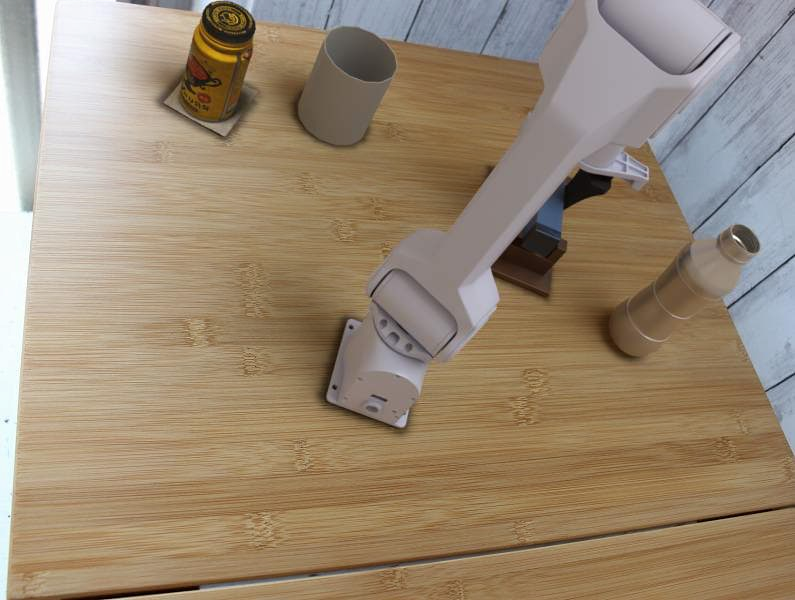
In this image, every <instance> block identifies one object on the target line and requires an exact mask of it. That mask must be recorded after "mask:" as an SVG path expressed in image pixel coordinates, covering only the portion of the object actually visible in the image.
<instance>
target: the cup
mask: <svg viewBox="0 0 795 600" xmlns="http://www.w3.org/2000/svg"><path fill="white" fill-rule="evenodd" d="M398 65H399V64H398V58H397V54H396V53H395V51H394V50H393V49H392V47H391V46H390V44H389V43H388V42H386V41H385V40H384V39H383V38H382V37H380V36H378V34H376V33H375V32H372V31H370V30H367V29H366V28H362V27H360V26H353V25H340V26H337V27H335V28H332V29H329V31H328V33H327V34H326V35H325V37H324V39H323V41H322V43H321V46H320V49H319V51H318V54H317V56H316V59H315V61H314V64H313V66H312V69H311V70H310V72H309V73H310V74H309V76H308V78H307V80H306V84H305V85H304V88H303V91H302V93H301V95H300V98H299V101H298V103H297V115H298V119H299V120H300V122H301V124H302V125H303V127H304V128H305V130H306V131H307V132H308V133H310V134H311V135H312V136H314V137H315V138H317V139H318V140H319V141H322V142H325V143H328V144H330V145H333V146H352V145H353V144H355V143H357V142H359V141H362V139H363V137H364V135H365V133H366V131H367V129H368V128H369V126H370V123H371V121H372V120H373V118H374V116H375V114H376V112H377V111H378V108H379V107H380V105H381V102H382V100H383V98H384V96H385V95H386V92H387V90H388V89H389V87H390V85H391V82H392V81H393V79H394V77H395V75H396V73H397V72H398V69H399V67H398Z"/></svg>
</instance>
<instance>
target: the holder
mask: <svg viewBox="0 0 795 600" xmlns="http://www.w3.org/2000/svg"><path fill="white" fill-rule="evenodd" d="M495 167H496V165H494V166H493V168H492V170H491V172H492V171H493V169H494V168H495ZM572 179H573V177H570V176H569V175H568V176H567V177H566V183H565V186H566V185H567V184H568V183H569V182H570V181H571V180H572ZM523 230H524V228H523V229H522V230H521V231H520V233H519V234H518V235H517V236H516V237H515V239H514V240H513V241H512V242H511V243H510V244H509V246H508V247H507V248H506V249H505V250H504V251H503V253H502V254H501V255H500V256H499V257H498V259H497V260H496V261H495V262H494V263H493V264H492V266H491V272H492V275H493V277H494V276H495V277H497V278H499V279H502V280H504V281H506V282H509V283H511V284H514V285H516V286H518V287H520V288H523V289H525V290H528V291H531V292H533V293H534V294H538V295H539V296H542V297H545V298H547V297H548V296H549V295H550V294H551V285H552V274H553V266H555V264H556V263H557V262H558V261H559V260H560V259H561V258H562V257H563V256H564V255H565V254H566V253H567V250H568V240H566V239H564V238H562V237H561V241H560V242H559V243H558V244H557V245H556V246H555V247H554V248H553V249H552V250H551V252H550V253H549V254H548V255H547V256H546V257H545V256H543V255H540V254H538V253H536V252H533V251H531V250H529V249H526V248H524V247H522V246H521V243H522V238H523Z"/></svg>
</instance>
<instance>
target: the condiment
mask: <svg viewBox="0 0 795 600" xmlns="http://www.w3.org/2000/svg"><path fill="white" fill-rule="evenodd" d="M201 14H202V15H201V18H200V20H199V23H198V24H197V25H196V26H195V29H194V31H193V34H192V35H193V36H192V39H191V43H190V47H189V51H188V56H187V61H186V65H185V67H184V72H183V77H182V80H181V81H180V83H179V84H178V85H177V86H176V87H175V89H174V90H173V91H172V92H171V93H170V94H169V95H168V97H167V98H166V99H165V100H164V101H163V102H162V103H163V104H164V105H167V106H168V107H170V108H172V109H173V110H175V111H177V112H178V113H180V114H181V115H183V116H185V117H187V118H188V119H190V120H192V121H194V122H196V123H198V124H200V125H202V126H203V127H205V128H207V129H209V130H212V131H214V132H215V133H217V134H219V135H220V136H222V137H224V138H226V136H227V135H228V133H229V132H230V131H231V129H232V128H233V127H234V126H235V124H236V122H238V120H239V119H240V118H241V116H242V115H243V114H244V112H245V111H246V109H247V108H248V107H249V105H250V104H251V103H252V101H254V99H255V97H256V96H257V95H258V93H259V91H258V90H256V89H254V88H251V87H249V86H248V85H245V84H244V82H245V78H246V75H247V72H248V69H249V65H250V62H251V59H252V56H253V54H254V35H255V34H256V30H257V27H256V24H257V23H256V20H255V19H254V17H253V15H252V14H251V13H250V11H249V10H247V9H246V8H245V7H243V6H242V5H240V4H238V3H236V2H233V1H229V0H215V1H211V2H209V3H208V4H207V5H205V7H204V9H203V10H202V13H201Z"/></svg>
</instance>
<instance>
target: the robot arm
mask: <svg viewBox="0 0 795 600" xmlns="http://www.w3.org/2000/svg"><path fill="white" fill-rule="evenodd" d="M741 40H742V36H741V35H740V34H739V33H737V32H736V31H733V30H732V28H730V27H729V26H728V25H727V24H725V22H724V21H722V20H721V18H720V17H718V16H717V15H716V14H715V13H713V11H711V10H710V8H708V7H707V6H705V5H704V3H702V2H701V1H699V0H573V1H572V2H571V3H570V5H569V6H568V8H567V10H566V11H565V13H564V14H563V16H562V17H561V18H560V20H559V22H558V23H557V24H556V25H555V27H554V29H553V30H552V32H550V34H549V36H548V37H547V39H546V41H545V47H544V48H543V50H542V51H541V53H540V54H539V56H538V57H537V58H536V60H537V63H538V67H539V71H540V75H541V78H542V82H543V85H544V88H543V91H542V92H541V94H540V96H539V98H538V100H537V102H536V104H535V106H534V108H533V111H532V112H530V111H528V113H527V114H526V116H525V117H524V119H523V120H522V121H521V122H520V124H519V125H520V126H519V131H518V134H517V136H516V138H515V139H514V141H513V142H512V144H511V145H510V146H509V148H508V149H507V150H506V151H505V153H504V154H503V155H502V157H501V158H500V160H499V161H498V163H497V164H496V165H495V166H496V167H495V166H494V167H495V168H494V167H493V168H494V169H493V168H492V170H493V171H492V170H491V172H490V174H489V175H487V177H486V179H485V180H484V182H482V184H481V186H480V187H479V188H478V190H477V191H476V192H475V194H474V195H473V197H471V199H470V201H469V202H468V203H467V205H466V206H465V208H464V209H463V210H462V211H461V212H460V214H459V216H457V218H456V220H455V221H454V223H453V224H451V227H450V228H449V229H448V230H447V231H442V230H439V229H433V228H426V227H422V228H420V229H418V230H416V231H413V232H410V234H408V235H407V236H406V237H404V239H402V240H401V241H400V242H399V243H397V245H396V246H394V247H393V249H392V250H391V251H390V253H389V254H388V255H387V256H386V257H385V258H384V259H383V260H382V261H381V262H380V263H379V265H378V266H377V267H376V268H375V269H374V270H373V272H372V273H371V274H370V276H369V277H368V279H367V280H366V282H365V292H364V294H365V296H367V297H368V298H369V299H371V300H370V301H369V303H368V304H367V306H366V308H367V309H368V310H369V312H368V313H367V314H366V316H365V317H364V318H363V320H362V321H359V320H357V319H354V318H349V319H347V321H346V323H345V327H344V330H343V334H342V338H341V341H340V345H339V348H338V352H337V356H336V360H335V363H334V367H333V370H332V373H331V378H330V381H329V385H328V389H327V392H326V396H325V399H326V401H327V402H328V403H330V404H333V405H336V406H339V407H342V408H343V409H347V410H350V411H352V412H355V413H358V414H361V415H363V416H366V417H368V418H371V419H374V420H376V421H379V422H382V423H384V424H387V425H390V426H393V427H396V428H397V429H403V428H405V426H406V425H407V421H408V417H409V416H408V415H409V412H410V408H411V407H412V406H413V405H414V404H415V403H416V402H417V401H418V400H419V399H420V395H421V393H422V388H423V383H424V380H425V376H426V373H427V370H428V368H429V366H430V365H431V363H432V362H433V360H434V361H435V362H436V363H437V364H439V365H440V364H442V363H443V364H448V363H450V362H451V361H452V360H453V358H454V357H455V356H456V355H457V354H458V353H459V352H460V351H461V350H462V349H463V348H464V347H465V346H466V345H467V344H468V343H469V341H470V340H472V339H473V337H474V336H475V335H476V334H477V333H478V332H479V331H480V330H481V329H482V328H483V327H484V326H485V325H486V323H487V322H488V321H489V320H490V317H491V316H492V315H493V313H495V311H496V310H497V309H498V305H497V304H498V303H499V302H500V300H501V297H500V294H499V291H498V287H497V284H496V281H495V278H494V275H492V272H491V266H492V264H493V263H494V262H495V261H496V260H497V259H498V257H499V256H500V255H501V254H502V253H503V251H504V250H505V249H506V248H507V247H508V246H509V244H510V243H511V242H512V241H513V240H514V239H515V237H516V236H517V235H518V234H519V233H520V231H521V230H522V229H523V228H524V227H525V226H526V224H527V223H528V222H529V221H530V220H531V218H532V217H533V216H534V215H535V214H536V213H537V211H538V210H539V209H540V208H541V207H542V206H543V204H544V203H545V202H546V201H547V200H548V198H549V197H550V196H551V195H552V194H553V193H554V191H555V190H556V189H557V188H558V187H559V186H560V184H561V183H562V182H563V181H564V180H565V178H566V177H567V176H568V177H569V175H570V174H571V173H572V171H573V170H574V169H575V168H576V167H577V168H578V170H577V172H576V173H575V175H574V176H573V177H572V180H571V181H570V182H569V183H568V184H567V185H566V186H565V195H564V206H563V212H564V211H565V210H567V209H568V208H570V207H572V206H574V205H575V204H577V203H580V202H582V201H585V200H587V199H590V198H593V197H597V196H604V195H606V194H607V193H608V192H609V191H610V190H611V189H612V180H613V179H614V178H618V179H620V180H623V181H625V182H627V183H629V187H630V188H631V189H633V190H635V191H637V192H638V191H641V189H642V187H644V186H645V185H646V183H647V182H649V181H650V179H649V178H650V168H649V166H647V165H645V164H643V163H642V162H639V161H638V160H636V159H635V158H634V157H633V156H631V155H630V154H628V153H627V152H626V151H625V149H626V148H631V149H640V148H641V147H642V146H643V145H644V144H645V143H646V142H647V141H648V140H649V139H650V140H652V139H655V138H656V137H657V136H659V134H660V133H661V132H662V131H663V130H664V129H665V128H666V127H667V126H668V125H669V123H671V121H673V120H674V118H675V117H677V115H681V114H682V113H683V112H684V110H686V109H687V108H688V106H690V105H691V104H692V102H693V101H694V100H695V99H696V98H697V97H698V96H699V95H700V94H701V93H702V92H703V91H704V90H705V88H707V87H708V85H710V83H712V81H713V80H714V79H715V78H716V77H717V76H718V75H719V74H720V73H721V72H722V71H723V69H724V68H726V66H727V65H728V64H729V63H730V62H731V61H732V60H733V59H734V58H735V56H736V55H737V54H738V53H739V52H740V51H741Z"/></svg>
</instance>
